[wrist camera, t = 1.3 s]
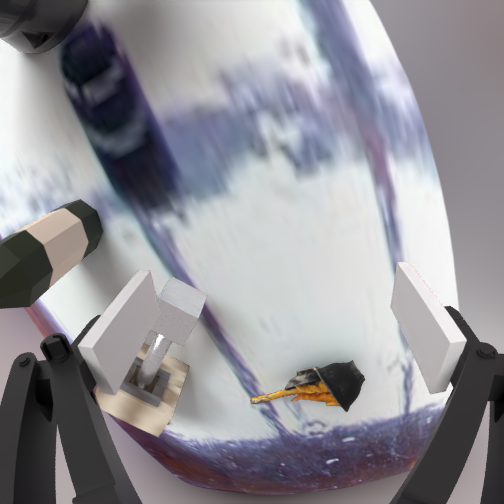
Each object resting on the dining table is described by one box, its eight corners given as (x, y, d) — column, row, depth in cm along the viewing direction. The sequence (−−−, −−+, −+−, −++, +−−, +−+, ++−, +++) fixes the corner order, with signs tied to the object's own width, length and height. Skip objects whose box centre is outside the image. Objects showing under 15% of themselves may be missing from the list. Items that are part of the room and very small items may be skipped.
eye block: (118, 360, 52) (93, 404, 42) (127, 332, 49) (99, 378, 38) (175, 389, 54) (158, 437, 43) (190, 364, 50) (173, 415, 40)
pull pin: (126, 385, 48) (115, 405, 43) (171, 276, 38) (158, 297, 33) (151, 398, 48) (142, 419, 44) (207, 295, 38) (198, 318, 34)
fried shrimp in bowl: (378, 395, 45) (289, 455, 44) (343, 351, 53) (263, 407, 53) (372, 380, 39) (267, 450, 38) (331, 329, 47) (238, 394, 47)
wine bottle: (103, 204, 40) (-66, 325, 13) (103, 256, 43) (-30, 396, 16) (59, 195, 40) (-101, 292, 13) (61, 245, 43) (-72, 359, 16)
